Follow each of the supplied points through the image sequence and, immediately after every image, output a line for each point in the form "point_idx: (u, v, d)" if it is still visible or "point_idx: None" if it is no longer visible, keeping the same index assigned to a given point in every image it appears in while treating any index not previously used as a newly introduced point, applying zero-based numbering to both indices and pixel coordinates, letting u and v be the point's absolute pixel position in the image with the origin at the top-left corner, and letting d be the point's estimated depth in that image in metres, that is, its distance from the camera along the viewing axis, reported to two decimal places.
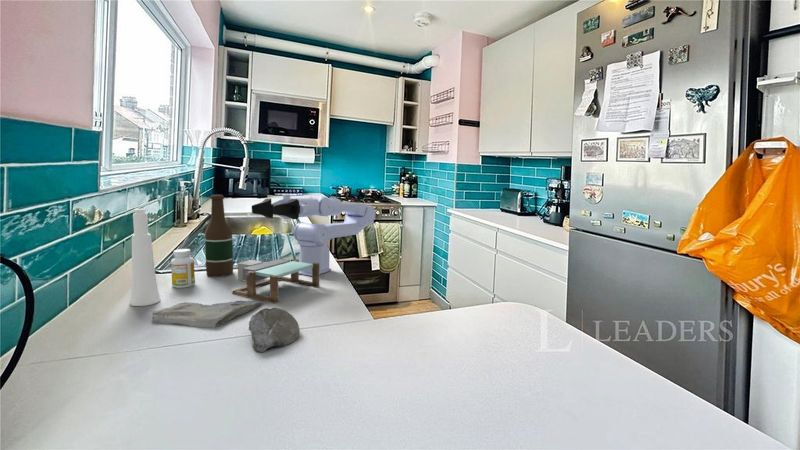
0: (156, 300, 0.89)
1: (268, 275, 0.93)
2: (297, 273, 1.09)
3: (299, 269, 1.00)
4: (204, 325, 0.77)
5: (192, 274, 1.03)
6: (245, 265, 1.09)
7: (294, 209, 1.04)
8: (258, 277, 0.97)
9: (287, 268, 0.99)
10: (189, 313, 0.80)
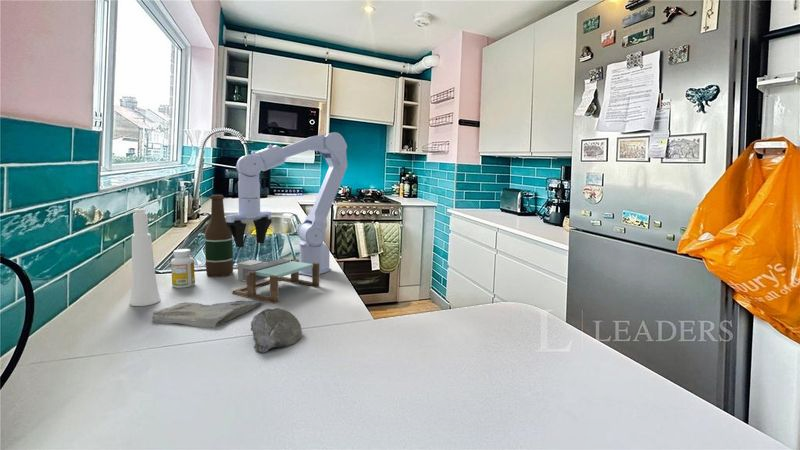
0: (156, 300, 0.89)
1: (268, 275, 0.93)
2: (297, 273, 1.09)
3: (299, 269, 1.00)
4: (204, 325, 0.77)
5: (192, 274, 1.03)
6: (245, 265, 1.09)
7: None
8: (258, 277, 0.97)
9: (287, 268, 0.99)
10: (189, 313, 0.80)
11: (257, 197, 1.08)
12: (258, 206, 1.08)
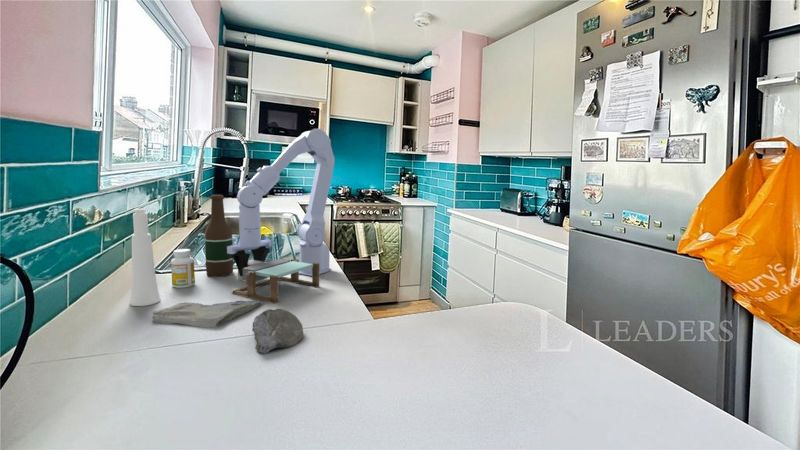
0: (156, 300, 0.89)
1: (268, 275, 0.93)
2: (297, 273, 1.09)
3: (299, 269, 1.00)
4: (205, 325, 0.77)
5: (192, 274, 1.03)
6: None
7: None
8: (258, 277, 0.97)
9: (287, 268, 0.99)
10: (190, 313, 0.80)
11: (258, 227, 1.09)
12: (259, 236, 1.09)
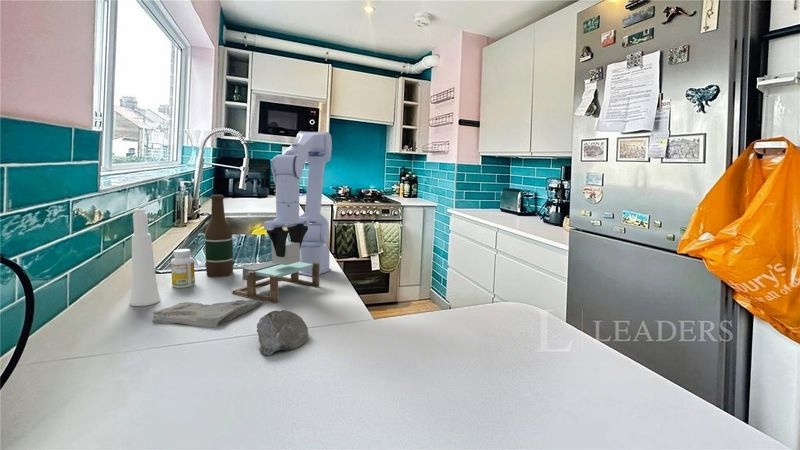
0: (156, 300, 0.89)
1: (268, 275, 0.93)
2: (297, 273, 1.09)
3: (299, 269, 1.00)
4: (206, 324, 0.77)
5: (192, 274, 1.03)
6: None
7: None
8: (258, 277, 0.97)
9: (287, 268, 0.99)
10: (190, 313, 0.81)
11: None
12: (297, 211, 0.97)
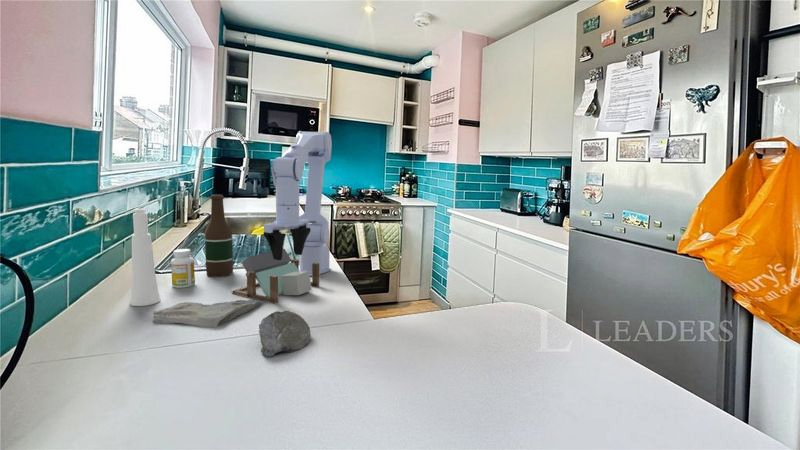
0: (156, 300, 0.89)
1: (263, 289, 0.95)
2: None
3: None
4: (206, 324, 0.77)
5: (192, 274, 1.03)
6: (296, 287, 0.96)
7: None
8: None
9: None
10: (190, 313, 0.81)
11: None
12: (298, 214, 0.97)
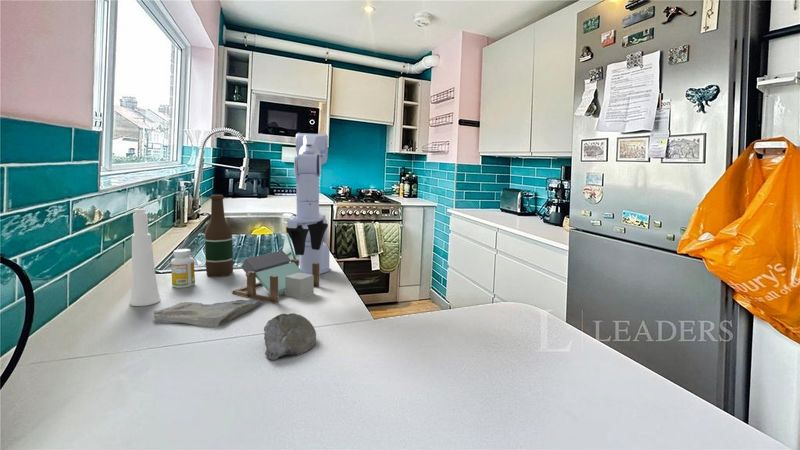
0: (156, 300, 0.89)
1: (265, 286, 0.94)
2: None
3: None
4: (207, 324, 0.77)
5: (192, 274, 1.03)
6: (299, 291, 0.95)
7: None
8: None
9: None
10: (191, 312, 0.81)
11: None
12: (318, 210, 1.00)
